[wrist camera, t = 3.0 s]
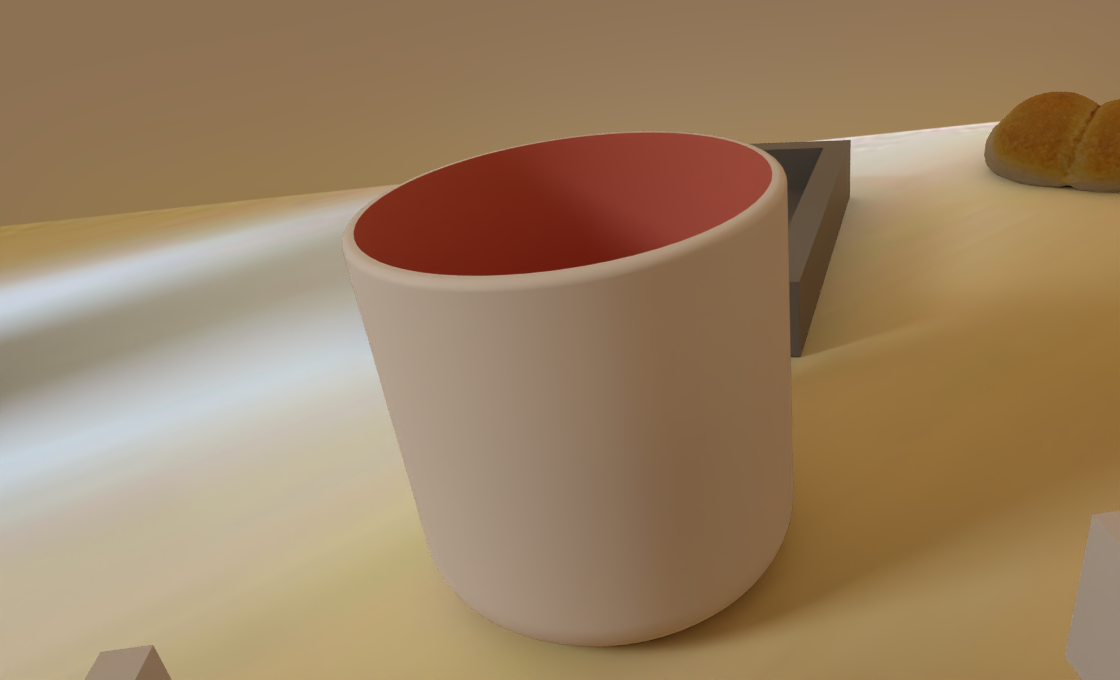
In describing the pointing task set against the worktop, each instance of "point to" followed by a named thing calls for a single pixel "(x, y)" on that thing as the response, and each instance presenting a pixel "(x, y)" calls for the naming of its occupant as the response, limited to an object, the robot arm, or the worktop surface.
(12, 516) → the worktop surface
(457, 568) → the cup
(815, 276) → the tray
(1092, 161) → the bread roll
